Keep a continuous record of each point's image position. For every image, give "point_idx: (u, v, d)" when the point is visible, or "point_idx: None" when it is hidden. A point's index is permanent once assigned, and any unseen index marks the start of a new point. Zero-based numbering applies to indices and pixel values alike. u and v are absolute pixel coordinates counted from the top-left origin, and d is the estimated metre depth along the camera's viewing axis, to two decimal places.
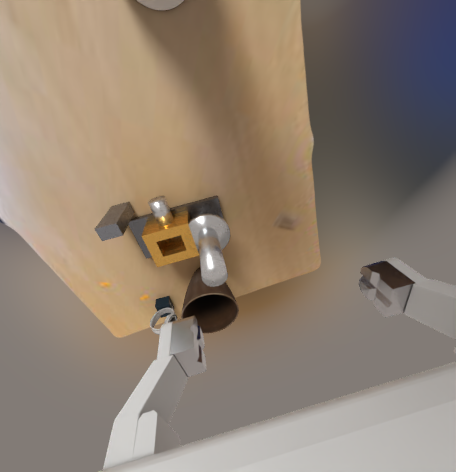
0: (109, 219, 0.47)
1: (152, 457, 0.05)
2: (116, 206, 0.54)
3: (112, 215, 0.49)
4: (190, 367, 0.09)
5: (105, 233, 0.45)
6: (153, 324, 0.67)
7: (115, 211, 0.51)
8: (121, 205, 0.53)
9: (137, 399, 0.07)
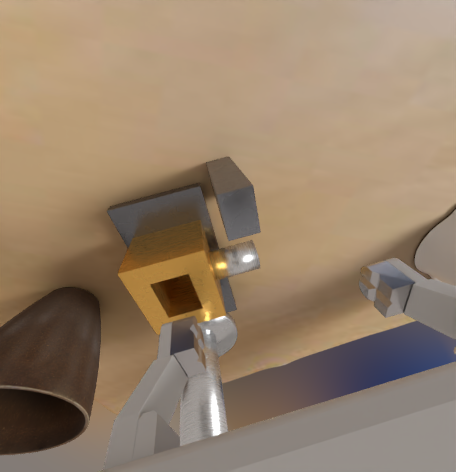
0: None
1: (152, 457, 0.05)
2: None
3: None
4: (190, 367, 0.09)
5: (238, 206, 0.18)
6: None
7: None
8: None
9: (137, 399, 0.07)
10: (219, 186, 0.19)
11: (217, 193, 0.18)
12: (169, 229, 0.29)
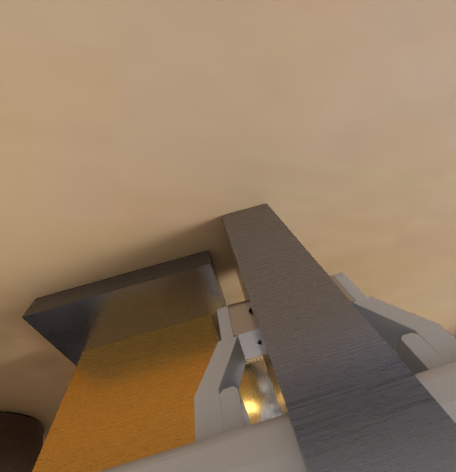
0: None
1: (152, 457, 0.05)
2: None
3: None
4: (250, 349, 0.09)
5: None
6: None
7: None
8: None
9: (212, 376, 0.07)
10: (300, 388, 0.05)
11: None
12: (151, 336, 0.16)
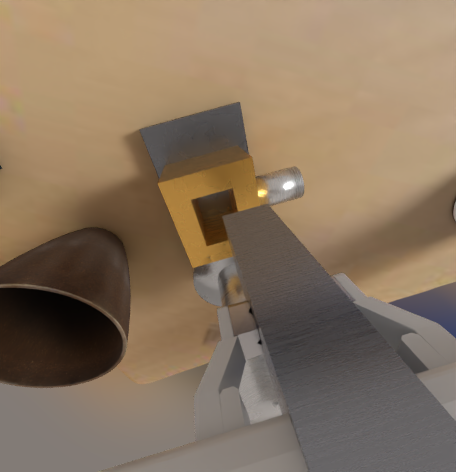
0: None
1: (152, 457, 0.05)
2: None
3: None
4: (250, 349, 0.09)
5: None
6: None
7: None
8: None
9: (212, 376, 0.07)
10: (302, 389, 0.05)
11: None
12: (204, 155, 0.27)
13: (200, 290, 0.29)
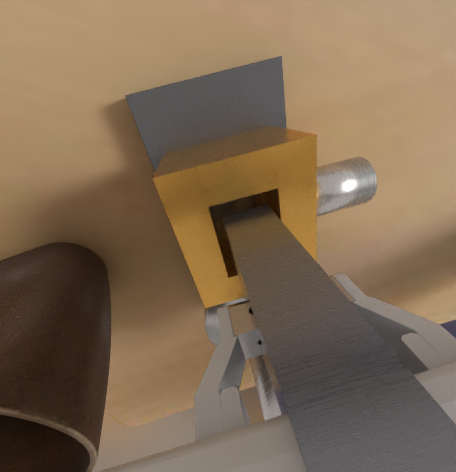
0: None
1: (152, 457, 0.05)
2: None
3: None
4: (250, 349, 0.09)
5: None
6: None
7: None
8: None
9: (212, 376, 0.07)
10: (301, 390, 0.05)
11: None
12: (224, 139, 0.18)
13: (214, 337, 0.20)
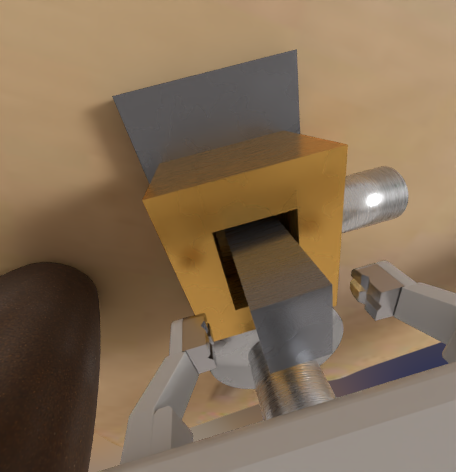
0: None
1: (152, 457, 0.05)
2: None
3: None
4: (201, 364, 0.09)
5: (295, 323, 0.08)
6: None
7: None
8: None
9: (151, 395, 0.07)
10: (249, 273, 0.09)
11: (250, 303, 0.08)
12: (228, 146, 0.16)
13: (218, 372, 0.17)
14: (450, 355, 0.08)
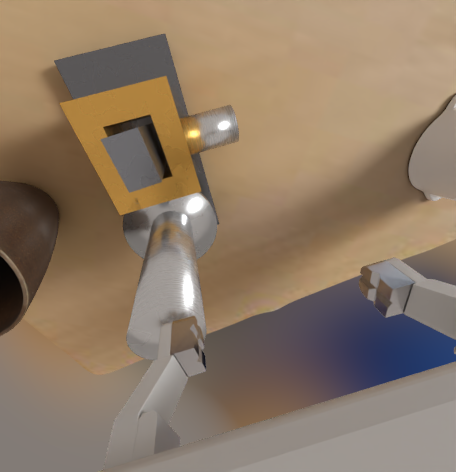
0: (153, 149, 0.21)
1: (152, 457, 0.05)
2: (157, 137, 0.27)
3: (155, 148, 0.23)
4: (190, 367, 0.09)
5: (128, 152, 0.18)
6: None
7: (157, 146, 0.24)
8: (161, 147, 0.28)
9: (137, 399, 0.07)
10: None
11: None
12: None
13: (134, 244, 0.26)
14: None
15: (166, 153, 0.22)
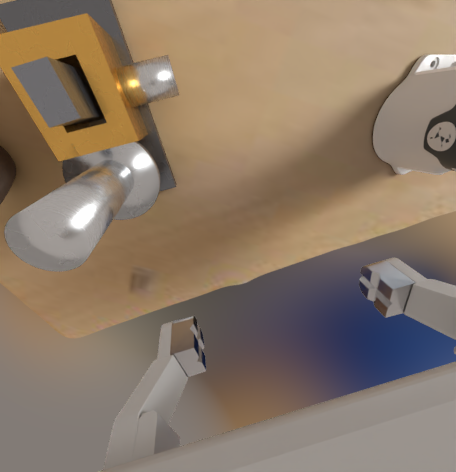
0: (79, 90, 0.21)
1: (152, 457, 0.05)
2: None
3: (87, 92, 0.23)
4: (190, 367, 0.09)
5: (41, 83, 0.18)
6: None
7: None
8: None
9: (137, 399, 0.07)
10: None
11: None
12: None
13: None
14: None
15: (97, 97, 0.23)
